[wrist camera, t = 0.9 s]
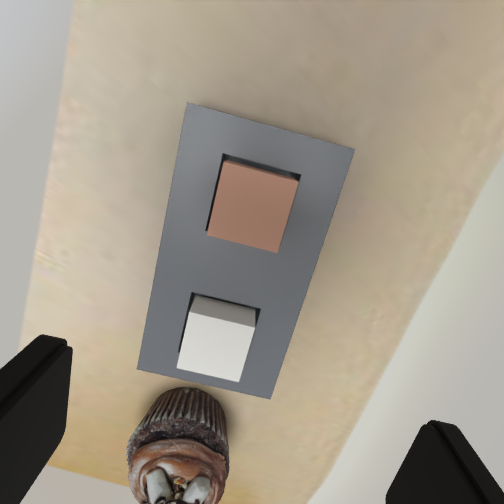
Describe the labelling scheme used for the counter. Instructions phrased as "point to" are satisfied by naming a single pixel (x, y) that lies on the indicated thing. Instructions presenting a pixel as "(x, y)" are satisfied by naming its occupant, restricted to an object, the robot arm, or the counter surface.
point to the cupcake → (180, 450)
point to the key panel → (234, 254)
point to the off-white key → (217, 338)
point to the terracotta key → (251, 206)
